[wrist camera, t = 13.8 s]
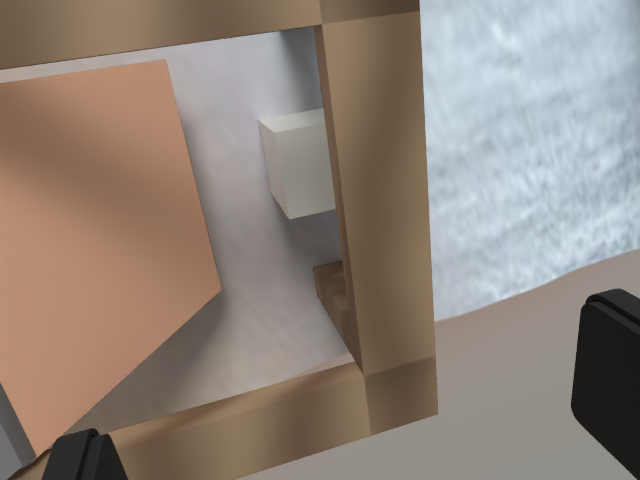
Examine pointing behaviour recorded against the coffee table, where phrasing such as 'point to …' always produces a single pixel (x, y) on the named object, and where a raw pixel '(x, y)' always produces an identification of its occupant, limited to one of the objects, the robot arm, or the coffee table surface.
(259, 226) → the coffee table surface
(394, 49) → the miniature wooden side table
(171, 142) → the trapdoor
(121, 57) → the coffee table surface
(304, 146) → the light gray block
